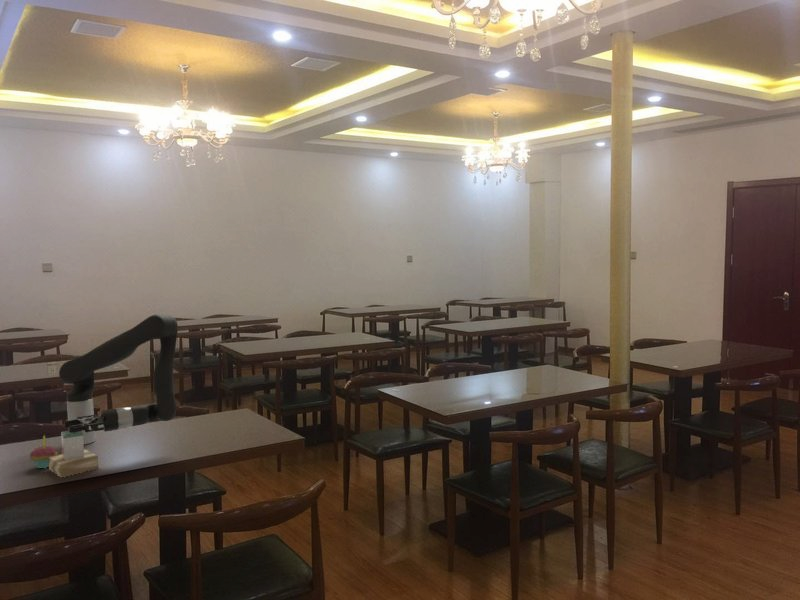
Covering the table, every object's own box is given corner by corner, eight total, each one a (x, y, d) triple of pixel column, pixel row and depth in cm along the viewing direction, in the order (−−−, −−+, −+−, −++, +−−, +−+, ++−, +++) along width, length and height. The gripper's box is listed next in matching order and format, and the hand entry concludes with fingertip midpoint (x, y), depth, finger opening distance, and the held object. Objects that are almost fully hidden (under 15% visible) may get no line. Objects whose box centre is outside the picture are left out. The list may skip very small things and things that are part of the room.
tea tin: (62, 456, 223) (61, 431, 223) (81, 452, 227) (80, 429, 226) (64, 460, 218) (63, 435, 218) (84, 457, 222) (83, 432, 221)
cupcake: (62, 465, 227) (59, 432, 226) (35, 472, 221) (33, 438, 220) (52, 461, 233) (50, 428, 232) (26, 467, 227) (24, 433, 226)
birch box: (49, 471, 223) (48, 457, 223) (85, 462, 232) (84, 449, 231) (61, 479, 215) (60, 464, 214) (98, 469, 223) (97, 455, 223)
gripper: (111, 404, 236) (62, 412, 226) (121, 412, 225) (69, 420, 215) (113, 425, 237) (63, 433, 227) (122, 433, 225) (71, 442, 216)
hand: (66, 427), depth 221 cm, fingers open, 8 cm apart
